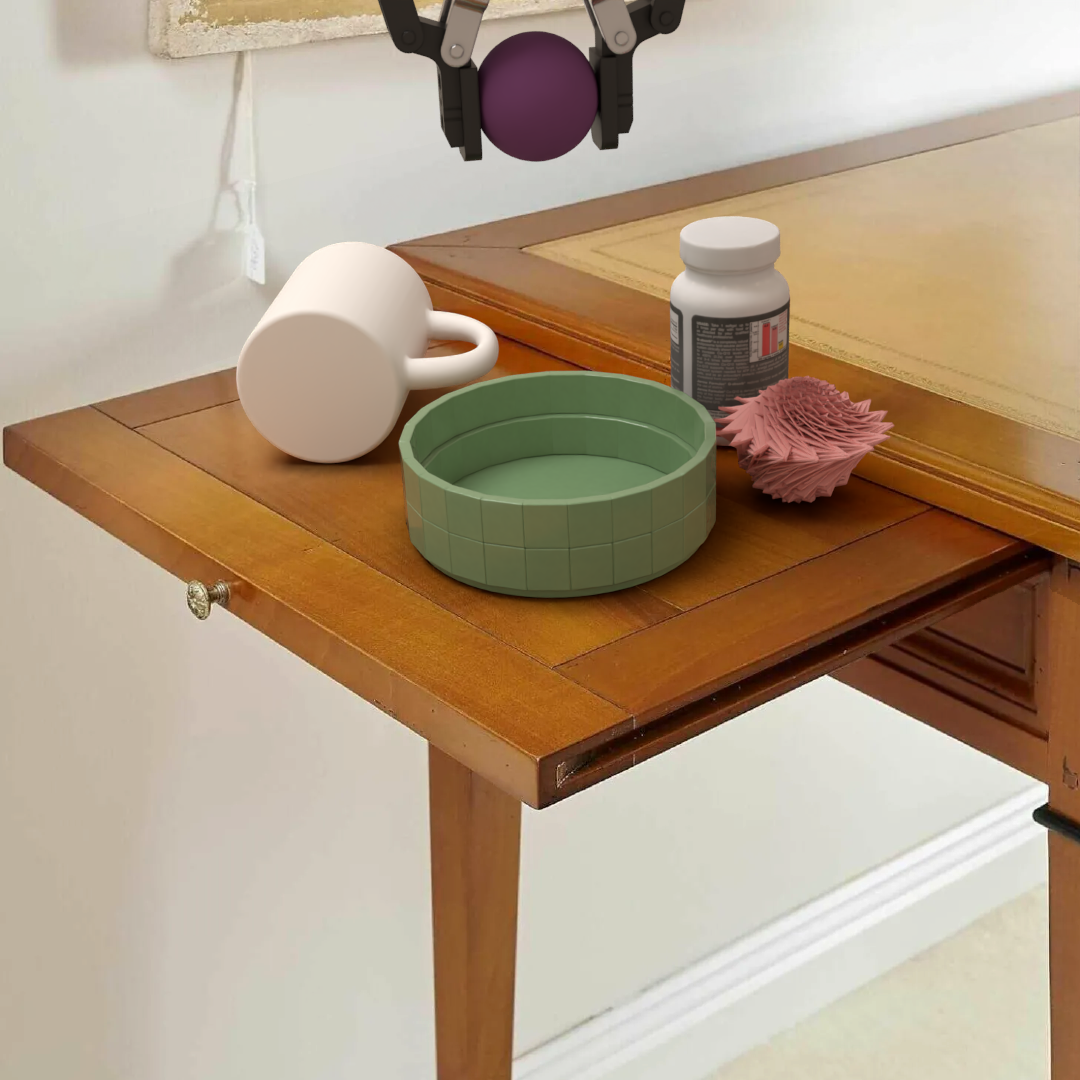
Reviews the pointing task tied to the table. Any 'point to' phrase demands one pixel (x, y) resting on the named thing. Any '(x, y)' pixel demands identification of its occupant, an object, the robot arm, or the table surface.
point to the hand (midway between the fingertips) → (538, 148)
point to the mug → (350, 353)
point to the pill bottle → (728, 313)
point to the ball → (536, 96)
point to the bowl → (559, 482)
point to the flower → (801, 437)
